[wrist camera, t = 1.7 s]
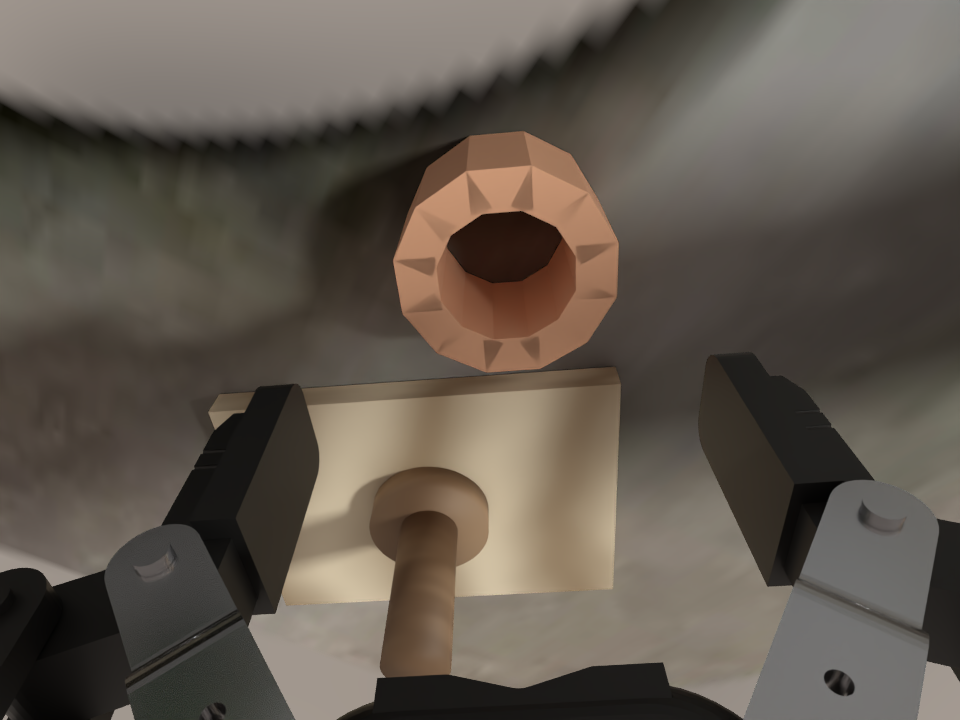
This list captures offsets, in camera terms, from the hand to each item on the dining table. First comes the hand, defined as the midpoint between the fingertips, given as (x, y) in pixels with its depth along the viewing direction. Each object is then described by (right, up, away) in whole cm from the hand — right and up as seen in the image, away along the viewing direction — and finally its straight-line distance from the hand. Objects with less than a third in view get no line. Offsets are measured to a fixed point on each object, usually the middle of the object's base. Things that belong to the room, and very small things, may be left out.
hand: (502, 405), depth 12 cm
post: (-3, -6, +15) cm, 16 cm away
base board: (-3, -5, +16) cm, 17 cm away
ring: (0, +5, +9) cm, 11 cm away
